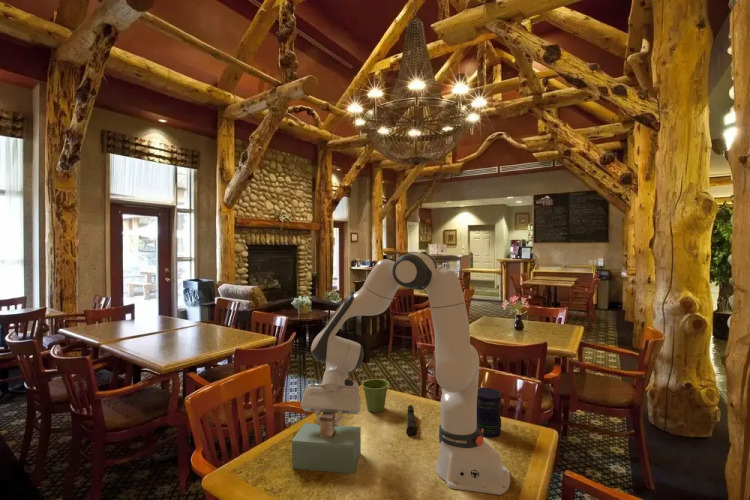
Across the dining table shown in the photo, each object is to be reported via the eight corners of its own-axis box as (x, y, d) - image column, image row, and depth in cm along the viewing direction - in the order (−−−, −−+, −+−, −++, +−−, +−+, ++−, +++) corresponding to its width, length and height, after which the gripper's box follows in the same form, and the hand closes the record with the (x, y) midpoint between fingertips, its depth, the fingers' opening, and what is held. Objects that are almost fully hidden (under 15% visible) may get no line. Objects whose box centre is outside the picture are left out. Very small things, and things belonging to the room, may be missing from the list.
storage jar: (475, 436, 143) (475, 396, 143) (473, 424, 153) (473, 387, 152) (503, 439, 141) (503, 398, 141) (499, 426, 151) (499, 388, 151)
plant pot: (377, 401, 175) (377, 376, 175) (394, 410, 166) (394, 384, 166) (356, 408, 168) (356, 383, 167) (373, 418, 158) (373, 391, 158)
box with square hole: (360, 453, 132) (360, 427, 132) (353, 473, 121) (353, 445, 120) (304, 448, 135) (304, 423, 135) (292, 468, 124) (291, 440, 123)
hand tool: (417, 437, 143) (417, 424, 143) (406, 436, 144) (406, 424, 144) (417, 414, 162) (417, 403, 162) (407, 414, 163) (407, 403, 163)
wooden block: (335, 442, 130) (334, 412, 129) (331, 448, 126) (331, 418, 125) (323, 441, 130) (323, 412, 130) (320, 447, 126) (319, 417, 126)
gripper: (303, 379, 136) (294, 419, 126) (361, 382, 133) (355, 423, 123) (308, 387, 140) (299, 426, 131) (363, 390, 137) (358, 430, 128)
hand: (327, 425), depth 127 cm, fingers closed on wooden block, 4 cm apart
